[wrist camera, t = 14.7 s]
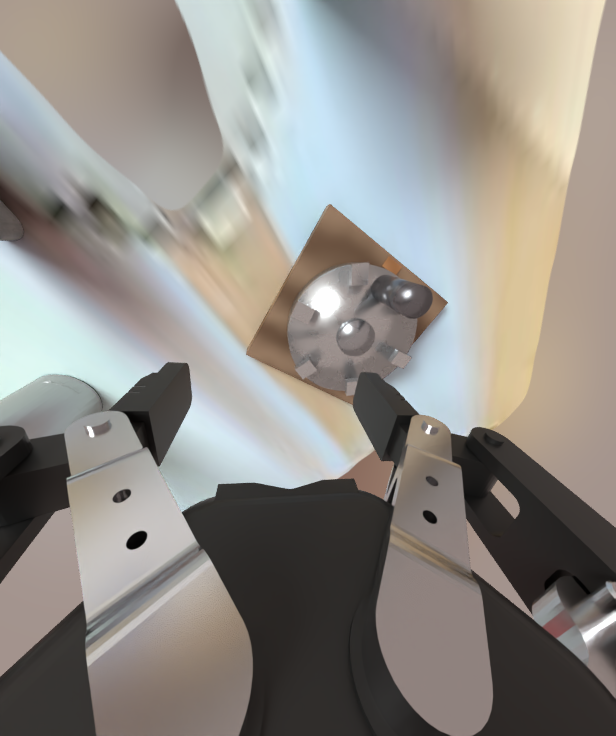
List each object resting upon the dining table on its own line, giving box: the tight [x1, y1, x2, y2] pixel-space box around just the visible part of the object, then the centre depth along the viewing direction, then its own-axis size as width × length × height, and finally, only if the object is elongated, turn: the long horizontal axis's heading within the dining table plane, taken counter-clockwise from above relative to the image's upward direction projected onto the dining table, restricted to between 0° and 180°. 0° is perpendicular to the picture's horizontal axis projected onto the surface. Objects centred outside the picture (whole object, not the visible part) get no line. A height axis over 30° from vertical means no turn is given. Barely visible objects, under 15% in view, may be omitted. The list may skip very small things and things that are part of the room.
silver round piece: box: [287, 262, 433, 396], centre depth 30 cm, size 18×18×11 cm
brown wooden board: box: [246, 204, 448, 405], centre depth 36 cm, size 22×22×2 cm
